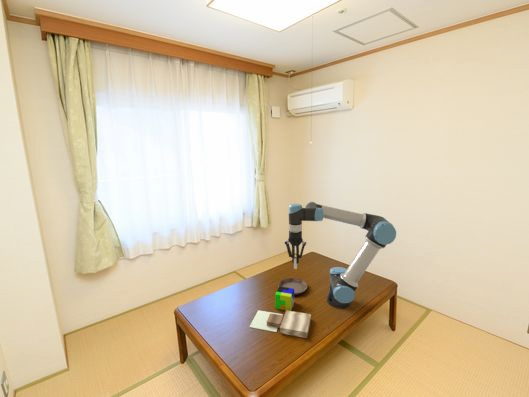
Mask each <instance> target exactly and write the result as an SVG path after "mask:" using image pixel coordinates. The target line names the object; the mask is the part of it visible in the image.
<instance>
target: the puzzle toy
mask: <svg viewBox="0 0 529 397" xmlns="http://www.w3.org/2000/svg"><path fill="white" fill-rule="evenodd" d="M274 302H275V303H274V304H275V305H274V306H275V309H276V310H282V311H286V310H287V311H292V309H293V307H294V304H295V295H294V289H293V288H287V287H280V286H278V288H277V291H276V292H275V294H274Z"/></svg>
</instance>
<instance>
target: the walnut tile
mask: <svg viewBox="0 0 529 397" xmlns="http://www.w3.org/2000/svg"><path fill="white" fill-rule="evenodd" d="M278 314H279V313H278ZM278 314H271V313H270V315H269V318H268V320H267V326H272V327H278V329H280V326H281V323H282V320H283V318H284V314H283V315H278Z"/></svg>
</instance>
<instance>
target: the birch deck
mask: <svg viewBox="0 0 529 397" xmlns="http://www.w3.org/2000/svg"><path fill="white" fill-rule="evenodd" d="M311 320H312V314H311V313H305V312H299V311H292V310H291V311H287V310H285V313H284V314H283V320H282V323H281V326H280V328H279V334H283V335H288V336H289V335H290V336H293V337H300V338H305V339H308V335H309V332H310V331H309V330H310V326H311V322H312V321H311Z"/></svg>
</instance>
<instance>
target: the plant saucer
mask: <svg viewBox="0 0 529 397" xmlns="http://www.w3.org/2000/svg"><path fill="white" fill-rule="evenodd" d="M279 286H280V287H287V288H293V289H294V296H297V295H301V294H303V293H304V292H305V291H306V290H307V289H308V284H307V282H306V281H305V280H303V279H301V278H298V277H289V278H288V277H287V278H284V279H282V280H280V281H279V283H278V287H279Z"/></svg>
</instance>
